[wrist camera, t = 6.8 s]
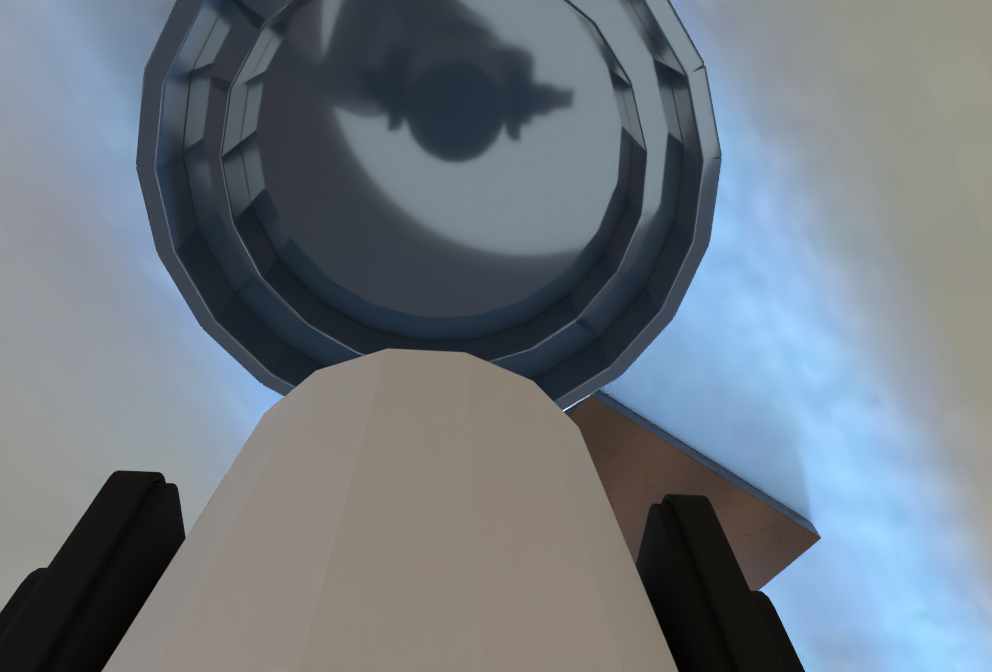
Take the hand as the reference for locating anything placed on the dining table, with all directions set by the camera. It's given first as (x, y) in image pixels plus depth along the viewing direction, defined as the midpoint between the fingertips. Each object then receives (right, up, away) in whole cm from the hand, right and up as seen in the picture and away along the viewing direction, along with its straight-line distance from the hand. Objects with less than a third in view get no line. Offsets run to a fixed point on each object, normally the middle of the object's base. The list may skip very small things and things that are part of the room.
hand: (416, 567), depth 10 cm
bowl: (-1, +9, +15) cm, 18 cm away
